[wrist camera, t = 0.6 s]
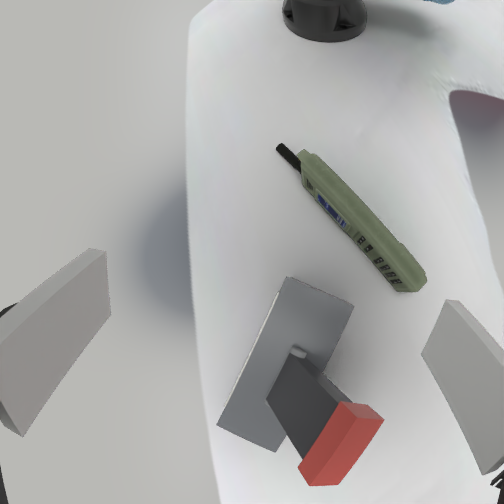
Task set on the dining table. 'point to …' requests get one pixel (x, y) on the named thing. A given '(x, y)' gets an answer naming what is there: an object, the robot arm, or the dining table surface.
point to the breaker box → (282, 357)
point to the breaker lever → (320, 420)
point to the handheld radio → (357, 221)
